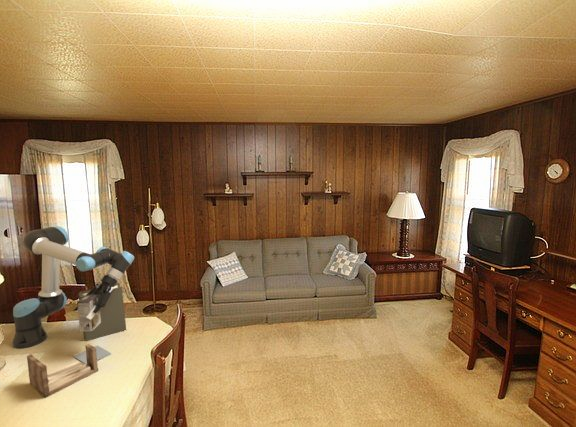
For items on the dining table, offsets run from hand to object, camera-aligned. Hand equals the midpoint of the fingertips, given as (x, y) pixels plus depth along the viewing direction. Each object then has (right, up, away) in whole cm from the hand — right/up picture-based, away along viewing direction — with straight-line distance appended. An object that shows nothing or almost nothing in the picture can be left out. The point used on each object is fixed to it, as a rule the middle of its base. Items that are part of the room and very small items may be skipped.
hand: (83, 315), depth 160 cm
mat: (+1, -23, +6) cm, 24 cm away
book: (-6, -20, +29) cm, 36 cm away
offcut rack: (-1, -25, -12) cm, 28 cm away
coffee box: (+2, -7, +4) cm, 8 cm away
